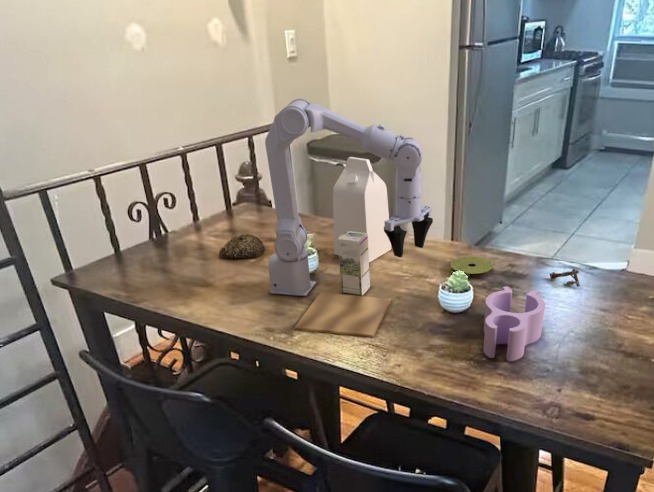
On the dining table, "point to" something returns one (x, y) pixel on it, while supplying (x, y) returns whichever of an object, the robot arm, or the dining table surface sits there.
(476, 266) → the mat
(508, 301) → the clip
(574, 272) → the wooden post with brackets
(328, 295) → the wooden board
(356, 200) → the milk
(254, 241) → the bread roll
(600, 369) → the dining table surface
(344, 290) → the syrup box
